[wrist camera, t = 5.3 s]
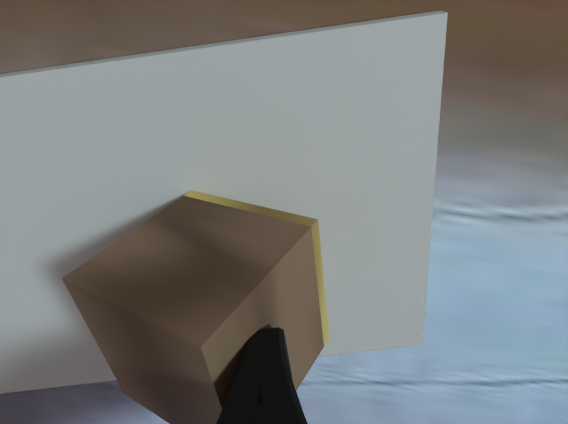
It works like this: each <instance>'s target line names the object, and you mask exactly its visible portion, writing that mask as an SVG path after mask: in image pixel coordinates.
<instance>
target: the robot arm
mask: <svg viewBox="0 0 568 424" xmlns="http://www.w3.org/2000/svg"><path fill="white" fill-rule="evenodd" d="M216 424H307V421H306V419H305V416H304V413H303V411H302V408H301V405H300V402H299V399H298V396H297V393H296V390H295V387H294V383H293V380H292V372H291V367H290V361H289V356H288V350H287V345H286V340H285V334H284V330H283V329H281V328H279V327H276V328H267V329H259V330H258V331H257V332H256V333H254V334H253V335H252V336H251V337H250V338H249V340H248V341H247V343H246V345H245V347H244V351H243V354H242V357H241V360H240V363H239V366H238V369H237V372H236V375H235V378H234V381H233V383H232V386H231V388H230V391H229V393H228V396H227V398H226V401H225V403H224V406H223V408H222V411H221V413H220V416H219V418H218V420H217V423H216Z"/></svg>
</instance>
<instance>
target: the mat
mask: <svg viewBox="0 0 568 424" xmlns="http://www.w3.org/2000/svg"><path fill="white" fill-rule="evenodd" d="M446 26H447V13H446V12H443V11H434V12H427V13H420V14H413V15H406V16H399V17H392V18H385V19H379V20H372V21H365V22H358V23H351V24H344V25H337V26H330V27H323V28H316V29H310V30H303V31H296V32H289V33H282V34H275V35H268V36H261V37H254V38H247V39H240V40H234V41H227V42H220V43H213V44H206V45H199V46H192V47H185V48H178V49H171V50H165V51H158V52H151V53H144V54H137V55H130V56H123V57H116V58H109V59H102V60H96V61H89V62H82V63H75V64H68V65H61V66H54V67H47V68H40V69H33V70H26V71H20V72H13V73H6V74H0V394H2V393H10V392H19V391H28V390H37V389H45V388H54V387H63V386H71V385H80V384H89V383H97V382H106V381H115V380H117V379H116V378H115V376H114V374H113V372H112V370H111V368H110V366H109V365H108V363H107V361H106V359H105V357H104V355H103V354H102V352H101V350H100V348H99V346H98V344H97V343H96V341H95V339H94V337H93V335H92V333H91V331H90V330H89V328H88V326H87V324H86V322H85V320H84V319H83V317H82V315H81V313H80V311H79V309H78V308H77V306H76V304H75V302H74V300H73V298H72V296H71V295H70V293H69V291H68V289H67V287H66V285H65V284H64V282H63V280H62V278H63V277H64V276H66V275H67V274H69V273H70V272H72V271H73V270H75V269H76V268H78V267H79V266H81V265H82V264H84V263H85V262H86V261H88V260H89V259H91V258H92V257H94V256H95V255H97V254H98V253H100V252H101V251H103V250H104V249H106V248H107V247H109V246H110V245H112V244H113V243H114V242H116V241H117V240H119V239H120V238H122V237H123V236H125V235H126V234H128V233H129V232H131V231H132V230H134V229H135V228H137V227H138V226H139V225H141V224H142V223H144V222H145V221H147V220H148V219H150V218H151V217H153V216H154V215H156V214H157V213H159V212H160V211H162V210H163V209H165V208H166V207H167V206H169V205H170V204H172V203H173V202H175V201H176V200H178V199H179V198H181V197H182V196H184V195H185V194H187V193H188V192H190V191H191V190H193V191H197V192H202V193H206V194H210V195H215V196H219V197H223V198H228V199H232V200H236V201H241V202H245V203H249V204H254V205H258V206H262V207H267V208H271V209H275V210H280V211H284V212H288V213H293V214H297V215H301V216H306V217H310V218H314V219H318V224H319V234H320V245H321V255H322V266H323V277H324V287H325V298H326V308H327V319H328V329H329V340H328V341H327V343H326V344H325V346H324V347H323V349H322V351H321V352H320V354H319V355H318V357H323V356H332V355H341V354H349V353H358V352H367V351H375V350H384V349H393V348H401V347H410V346H419V345H422V341H423V328H424V315H425V302H426V289H427V276H428V263H429V249H430V236H431V223H432V210H433V197H434V184H435V171H436V158H437V144H438V131H439V118H440V105H441V92H442V79H443V66H444V52H445V39H446Z"/></svg>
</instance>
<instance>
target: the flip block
mask: <svg viewBox="0 0 568 424" xmlns="http://www.w3.org/2000/svg"><path fill="white" fill-rule="evenodd" d="M62 280H63V282H64V284H65V285H66V287H67V289H68V291H69V293H70V295H71V296H72V298H73V300H74V302H75V304H76V306H77V308H78V309H79V311H80V313H81V315H82V317H83V319H84V320H85V322H86V324H87V326H88V328H89V330H90V331H91V333H92V335H93V337H94V339H95V341H96V343H97V344H98V346H99V348H100V350H101V352H102V354H103V355H104V357H105V359H106V361H107V363H108V365H109V366H110V368H111V370H112V372H113V374H114V376H115V378H116V379H117V381H118V383H119V385H120V387H121V389H122V390H123V392H124V394H126V395H127V396H129V397H130V398H132V399H133V400H135V401H136V402H138V403H139V404H141V405H142V406H144V407H145V408H147V409H149V410H150V411H152V412H153V413H155V414H156V415H158V416H159V417H161V418H162V419H164V420H165V421H167V422H168V423H170V424H216V423H217V420H218V418H219V416H220V413H221V411H222V408H223V406H224V403H225V401H226V398H227V396H228V393H229V391H230V388H231V386H232V383H233V381H234V378H235V375H236V372H237V369H238V366H239V363H240V360H241V357H242V354H243V351H244V347H245V345H246V343H247V341H248V340H249V338H250V337H251V336H252V335H253V334H254V333H256V332H257V331H258V330H259V329H267V328H276V327H279V328H281V329H283V330H284V334H285V340H286V345H287V350H288V356H289V361H290V367H291V372H292V380H293V383H294V387H295V390H297V388H298V387H299V385H300V384H301V382H302V381H303V379H304V377H305V376H306V374H307V373H308V371H309V370H310V368H311V366H312V365H313V363H314V362H315V360H316V358H317V357H318V355H319V354H320V352H321V351H322V349H323V347H324V346H325V344H326V343H327V341H328V340H329V329H328V319H327V308H326V298H325V287H324V277H323V266H322V255H321V245H320V234H319V224H318V219H314V218H310V217H306V216H301V215H297V214H293V213H288V212H284V211H280V210H275V209H271V208H267V207H262V206H258V205H254V204H249V203H245V202H241V201H236V200H232V199H228V198H223V197H219V196H215V195H210V194H206V193H202V192H197V191H193V190H191V191H190V192H188V193H187V194H185V195H184V196H182V197H181V198H179V199H178V200H176V201H175V202H173V203H172V204H170V205H169V206H167V207H166V208H165V209H163V210H162V211H160V212H159V213H157V214H156V215H154V216H153V217H151V218H150V219H148V220H147V221H145V222H144V223H142V224H141V225H139V226H138V227H137V228H135V229H134V230H132V231H131V232H129V233H128V234H126V235H125V236H123V237H122V238H120V239H119V240H117V241H116V242H114V243H113V244H112V245H110V246H109V247H107V248H106V249H104V250H103V251H101V252H100V253H98V254H97V255H95V256H94V257H92V258H91V259H89V260H88V261H86V262H85V263H84V264H82V265H81V266H79V267H78V268H76V269H75V270H73V271H72V272H70V273H69V274H67V275H66V276H64V277H63V278H62Z"/></svg>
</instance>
